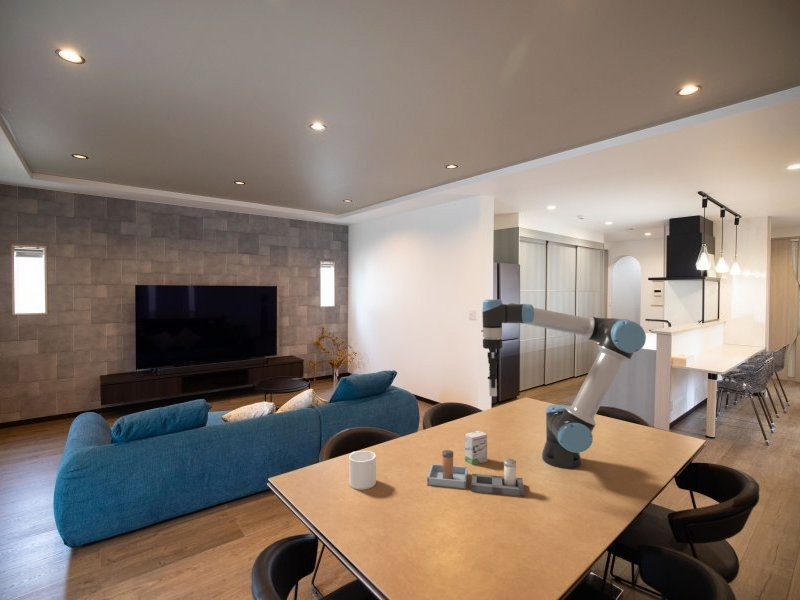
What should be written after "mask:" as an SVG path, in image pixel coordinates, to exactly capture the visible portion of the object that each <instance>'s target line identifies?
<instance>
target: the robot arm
mask: <svg viewBox="0 0 800 600" xmlns="http://www.w3.org/2000/svg"><path fill="white" fill-rule="evenodd" d="M481 312H482V329H481V330H480V332H481V333H482V337H483V339H482V348H483V349H487V350H488V351H487V360H488V361H487V363H488V365H489V367H488V370H489V373H488V376H487V380H488V387H489V397H497V396H498V389H497V388H498V387H497V386H498V381H497V380H498V379H497V378H498V376H497V372H498V368H497V364H498V358H499V353H498V352H496V351H497V350H500V349H502V348H503V339H502V338H503V324H523V325H524V324H525V325H529V326H534V327H538V328H542V329H543V328H544V329H548V330H551V331H553V330H554V331H559V332H561V333H562V332H563V333H568V334H572V335H577V336H582V337H584V338H585V340H590V341H593V342H597V343H598V345H597V347H598V350H599V352H598V354H597V356H596V359H595V360H594V362H593V364H592V366H591V367H590V370H589V371H588V373H587V375H586V377H585V379H584V381H583V383H582V385H581V386H580V389H579V391H578V392H577V395H576V396H575V398H574V400H573V402H572V404H571V405H564V404H551V405H547V406H546V412H545V417H546V418H545V419H546V420H545V422H546V423H545V424H546V427H545V428H546V429H545V430H546V433H545V434H546V435H545V437H546V439H545V440H546V441H545V443H544V446H543V450H542V454H541V458H542V461H543V462H544V463H546V464H548V465H550V466H554V467H558V468H563V469H574V468H578V467H580V466H581V465H582V457H581V454H580V453H583V452H586V451H587V450H588V449H589V448H590V447H591V446H592V443H593V433H592V432H593V430H594V428H595V426H596V422H595V416H596V415H597V413H598V411H599V409H600V407H601V405H602V403H603V402H604V400H605V398H606V396H607V394H608V392H609V390H610V389H611V386H612V384H613V382H614V381H615V379H616V377H617V375H618V373H619V371H620V370H621V367H622V365H624V363H625V362H628V361H630V360H631V359H632V357H633V355H634V353H637V352H638V351H641V350H642V349H643V348H644V346H645V344H646V340H647V336H646V333H645V330H644V329H643V326H641V325H640V324H639V323H637V322H635V321H633V320H630V319H627V318H626V319H625V318H624V319H621V318H620V319H619V318H613V317H611V318H610V317H609V318H608V317H607V318H606V317H605V318H604V317H596V316H589V317H582V316H577V315H573V314H567V313H563V312H562V313H561V312H557V311H552V310H548V309H542V308H537V307H534V305H533V304H529V303H528V304H527V303H520V304H519V303H508V304H505V303H503V301H502V299H484V300H482V310H481Z"/></svg>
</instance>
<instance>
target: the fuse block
mask: <svg viewBox="0 0 800 600" xmlns="http://www.w3.org/2000/svg"><path fill="white" fill-rule="evenodd" d="M470 486H471V487H470V491H471V492H473V493H481V494H492V495H502V496H510V497H511V496H512V497H523V498H525V486H524V480H523V477H516V487H512V486H504V475H494V474H493V475H492V474H481V473H480V474H479V473H472V475H471V484H470Z"/></svg>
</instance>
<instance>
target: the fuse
mask: <svg viewBox="0 0 800 600" xmlns="http://www.w3.org/2000/svg"><path fill="white" fill-rule="evenodd" d="M516 468H517V460H515V459H513V458H505V459H503V476H504V486H512V487H516V478H517V471H516V470H517V469H516Z"/></svg>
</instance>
